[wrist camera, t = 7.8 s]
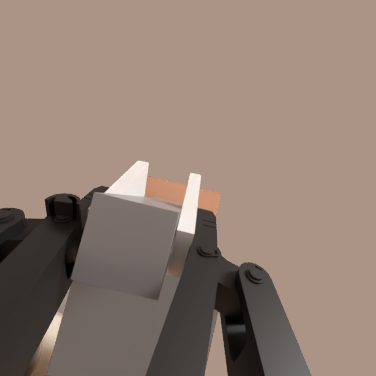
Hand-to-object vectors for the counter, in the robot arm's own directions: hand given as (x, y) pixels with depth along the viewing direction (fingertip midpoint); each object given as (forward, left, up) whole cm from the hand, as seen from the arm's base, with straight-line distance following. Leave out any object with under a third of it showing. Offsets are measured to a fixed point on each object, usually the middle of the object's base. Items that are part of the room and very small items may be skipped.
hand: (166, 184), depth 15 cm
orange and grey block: (-1, +3, -6) cm, 7 cm away
